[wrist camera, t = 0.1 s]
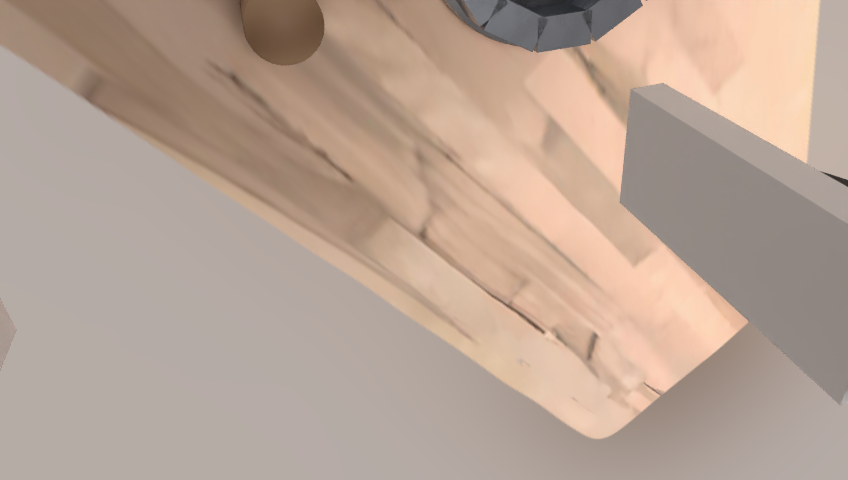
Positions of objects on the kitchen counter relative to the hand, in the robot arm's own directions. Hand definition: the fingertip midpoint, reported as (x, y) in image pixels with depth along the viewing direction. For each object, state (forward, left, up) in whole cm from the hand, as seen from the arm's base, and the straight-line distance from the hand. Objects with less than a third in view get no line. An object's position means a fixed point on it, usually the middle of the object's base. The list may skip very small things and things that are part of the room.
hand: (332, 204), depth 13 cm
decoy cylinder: (+2, +1, -28) cm, 28 cm away
